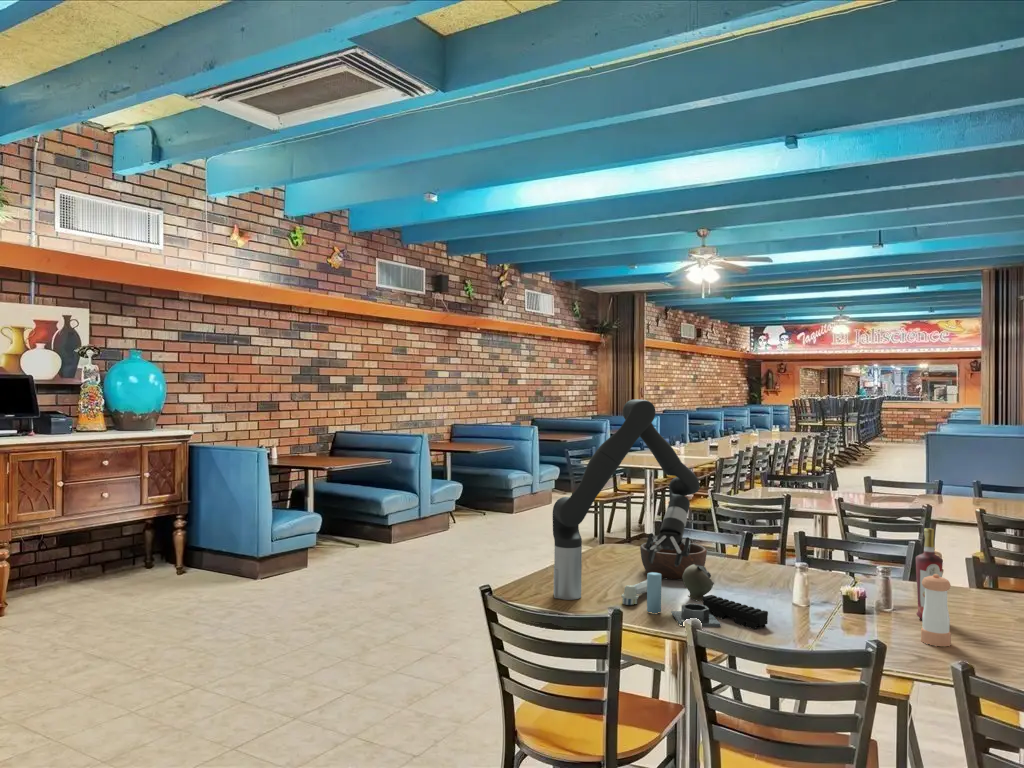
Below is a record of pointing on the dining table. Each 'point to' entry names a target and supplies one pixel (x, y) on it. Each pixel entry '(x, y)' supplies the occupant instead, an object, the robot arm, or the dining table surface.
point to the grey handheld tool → (633, 592)
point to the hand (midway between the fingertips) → (663, 563)
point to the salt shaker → (936, 612)
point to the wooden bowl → (673, 560)
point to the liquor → (926, 567)
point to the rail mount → (736, 611)
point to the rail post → (654, 592)
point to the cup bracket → (696, 615)
